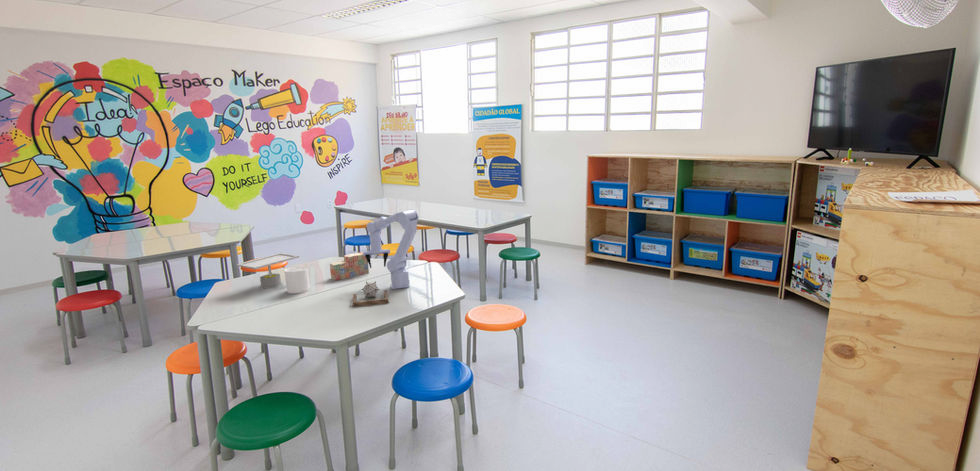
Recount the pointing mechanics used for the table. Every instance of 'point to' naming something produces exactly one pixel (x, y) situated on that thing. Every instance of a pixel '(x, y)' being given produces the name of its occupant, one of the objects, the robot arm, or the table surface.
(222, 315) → the table surface
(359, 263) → the stack of blocks
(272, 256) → the solar panel model
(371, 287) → the game die
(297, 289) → the cup
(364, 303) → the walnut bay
